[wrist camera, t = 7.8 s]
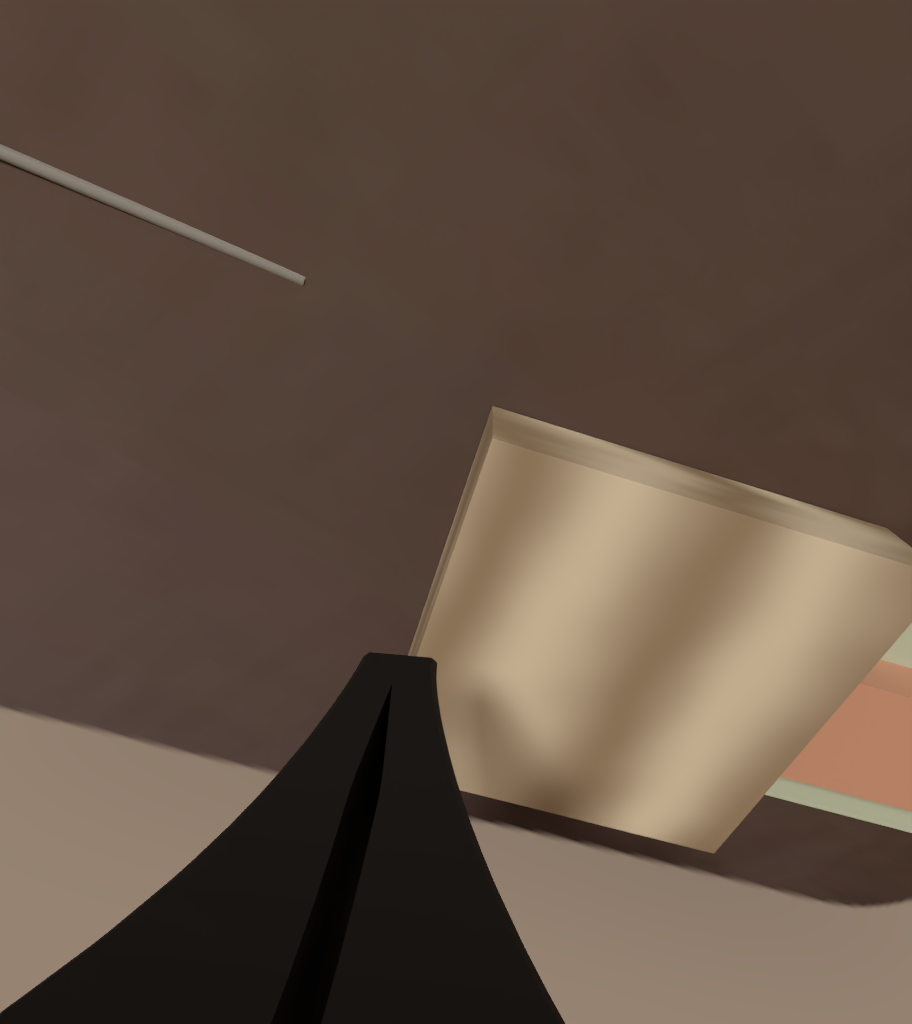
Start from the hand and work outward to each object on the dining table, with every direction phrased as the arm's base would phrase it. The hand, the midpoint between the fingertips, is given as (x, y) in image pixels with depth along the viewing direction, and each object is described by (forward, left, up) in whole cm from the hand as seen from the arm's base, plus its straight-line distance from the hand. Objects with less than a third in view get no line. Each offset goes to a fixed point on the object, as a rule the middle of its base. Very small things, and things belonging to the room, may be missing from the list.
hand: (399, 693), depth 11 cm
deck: (-5, +7, -9) cm, 13 cm away
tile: (-14, +13, -9) cm, 22 cm away
